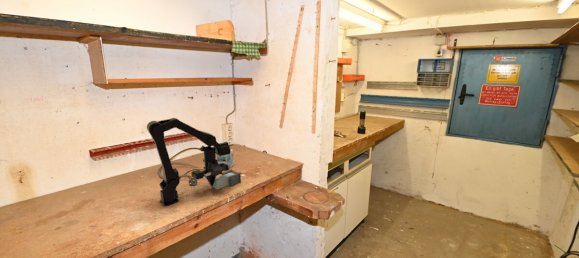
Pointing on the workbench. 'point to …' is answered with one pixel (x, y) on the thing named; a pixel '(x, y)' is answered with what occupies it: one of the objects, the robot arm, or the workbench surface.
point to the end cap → (233, 177)
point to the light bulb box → (226, 159)
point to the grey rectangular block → (222, 181)
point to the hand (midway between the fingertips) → (211, 186)
